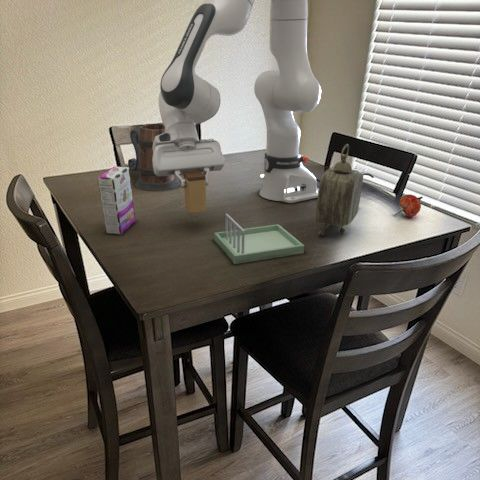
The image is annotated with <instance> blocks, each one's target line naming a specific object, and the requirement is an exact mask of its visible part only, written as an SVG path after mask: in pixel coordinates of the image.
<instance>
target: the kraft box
mask: <svg viewBox="0 0 480 480" xmlns="http://www.w3.org/2000/svg"><path fill="white" fill-rule="evenodd" d="M182 176H183V180H184V179H186V183H187V187H186V188H183V192H184V208H185V209H186V210H187V211H188V213H189V214H195V213H203V212H207V191H206V190H207V187H206V184H205V180H206V176H205V175H204V174H203V172H200V171H197V172H187V173H183V174H182Z"/></svg>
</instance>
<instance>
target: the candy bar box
mask: <svg viewBox="0 0 480 480" xmlns="http://www.w3.org/2000/svg"><path fill="white" fill-rule="evenodd" d="M97 183H98V190H99V196H100V202H101V208H102V209H101V210H102V214H103V216H102V217H103V221H104V227H105V233H106V234H108V235H123V234H124V233H125V232H126V231H127V230H128V229H129V228H130V227H131V226H132V225H133V224H134V223H135V222H136V215H135V207H134V198H133V197H134V196H133V191H132V182H131V173H130V168H129V166H117V165H116V166H112V167H111V168H109V169H108V170H106V171H105V172H104V173H102V174H100V175H99V176H97Z"/></svg>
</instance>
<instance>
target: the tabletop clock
mask: <svg viewBox="0 0 480 480" xmlns="http://www.w3.org/2000/svg"><path fill="white" fill-rule="evenodd" d="M346 149H347V150H346ZM345 150H346V153H345V154H344V152H345ZM349 152H350V144H348V143H346V144H344V145H343V147H342V149H341V153H340V161H337V162H336V163H335V164H334V165H333V166H331V167H330V168H328V169H327V170H325V172H323V174H322V176H321V178H320V180H321V181H320V182H319V187H318V188H319V192H318V198H317V200H316V209H315V210H316V211H315V222H316V223H319V224H324V226H323V229H322V230H320V231H319V232H318V236H319V237H324V236H325V231H326V230H327V228H328V227H329V226H335V227H340V229H339V233H340V234H344V233H345V232H346V230H345V228H344V227H345V226H348V225H350V224H351V223H352V222H353V221H354V219H355V218H356V217H357V214H358V212H359V207H360V201H361V195H362V189H363V184H364V183H363V182H364V175H362V174H361V173H360V172H359V171H357V170H358V169H357V170H352V169H353V168H352V164H351V163H350V162H348V161H347V158H348V156H349Z"/></svg>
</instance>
